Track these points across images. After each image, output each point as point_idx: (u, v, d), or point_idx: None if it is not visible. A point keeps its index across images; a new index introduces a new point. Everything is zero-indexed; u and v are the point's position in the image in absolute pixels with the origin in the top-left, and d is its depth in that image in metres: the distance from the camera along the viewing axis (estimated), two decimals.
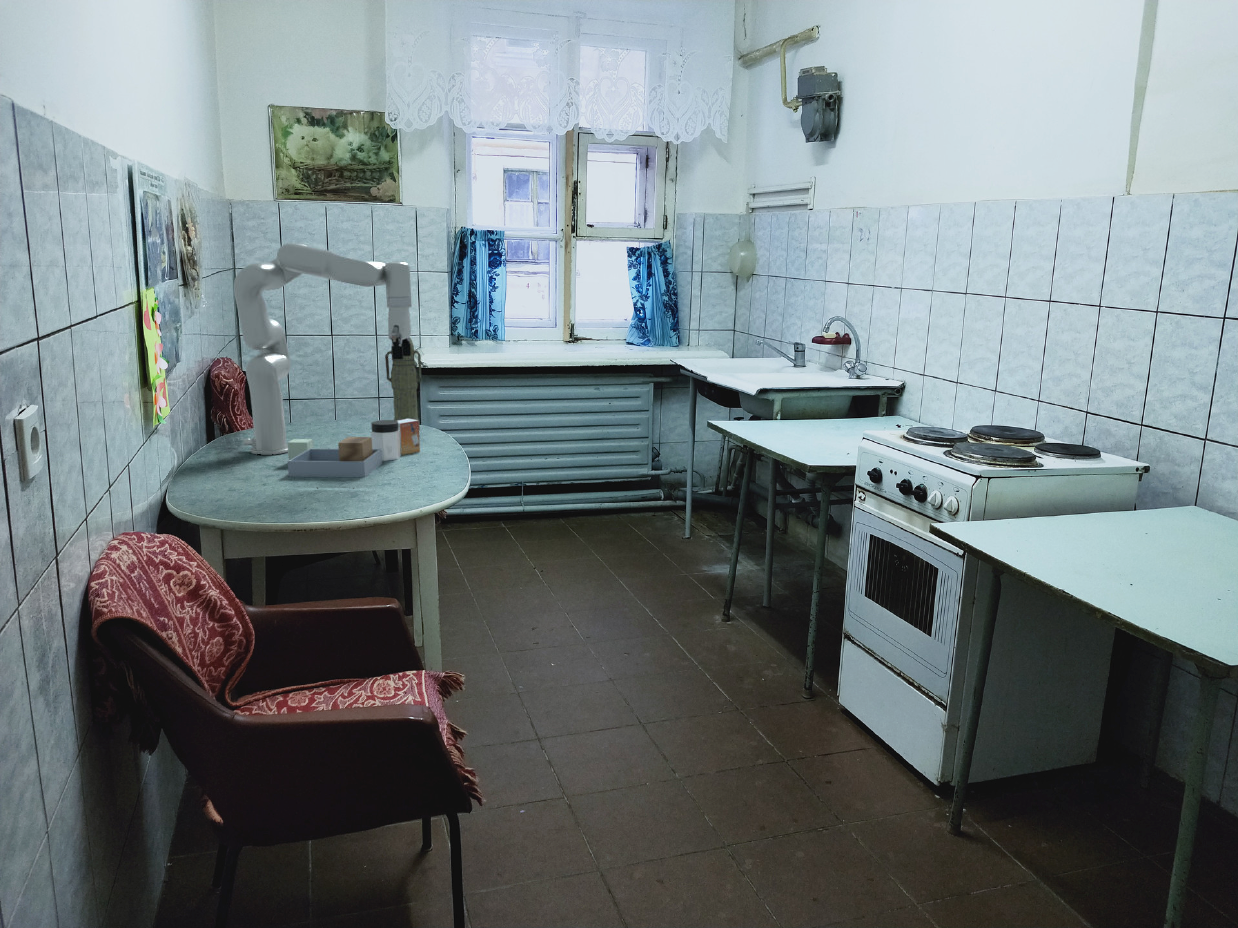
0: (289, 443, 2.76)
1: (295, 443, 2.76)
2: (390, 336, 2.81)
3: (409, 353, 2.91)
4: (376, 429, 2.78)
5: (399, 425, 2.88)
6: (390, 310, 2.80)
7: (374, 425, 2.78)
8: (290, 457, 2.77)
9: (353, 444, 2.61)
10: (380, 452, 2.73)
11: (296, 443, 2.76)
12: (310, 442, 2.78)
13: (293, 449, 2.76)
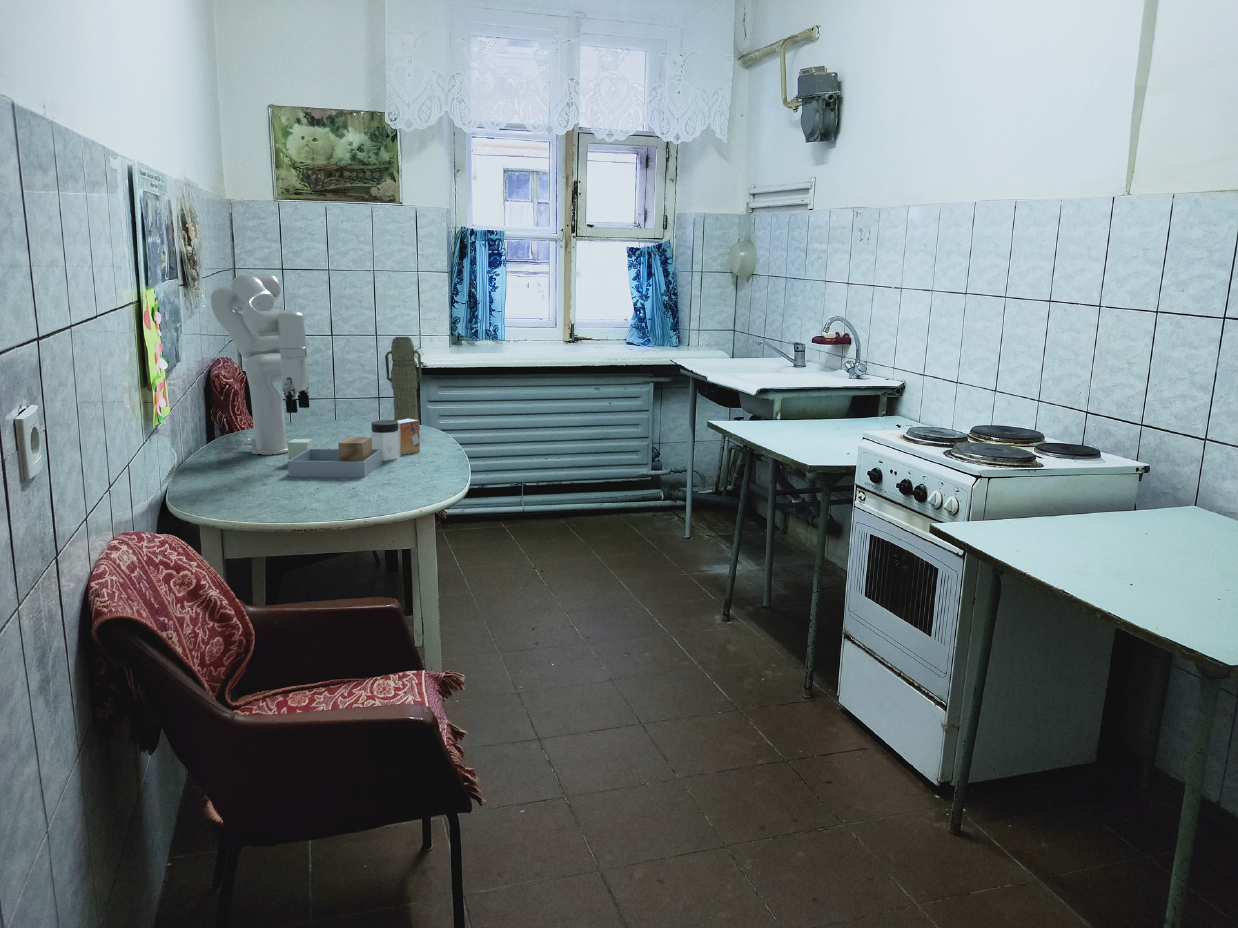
0: (289, 443, 2.76)
1: (295, 443, 2.76)
2: None
3: (307, 405, 2.80)
4: (376, 429, 2.78)
5: (399, 425, 2.88)
6: (283, 362, 2.68)
7: (374, 425, 2.78)
8: (290, 457, 2.77)
9: (353, 444, 2.61)
10: (380, 452, 2.73)
11: (296, 443, 2.76)
12: (310, 442, 2.78)
13: (293, 449, 2.76)
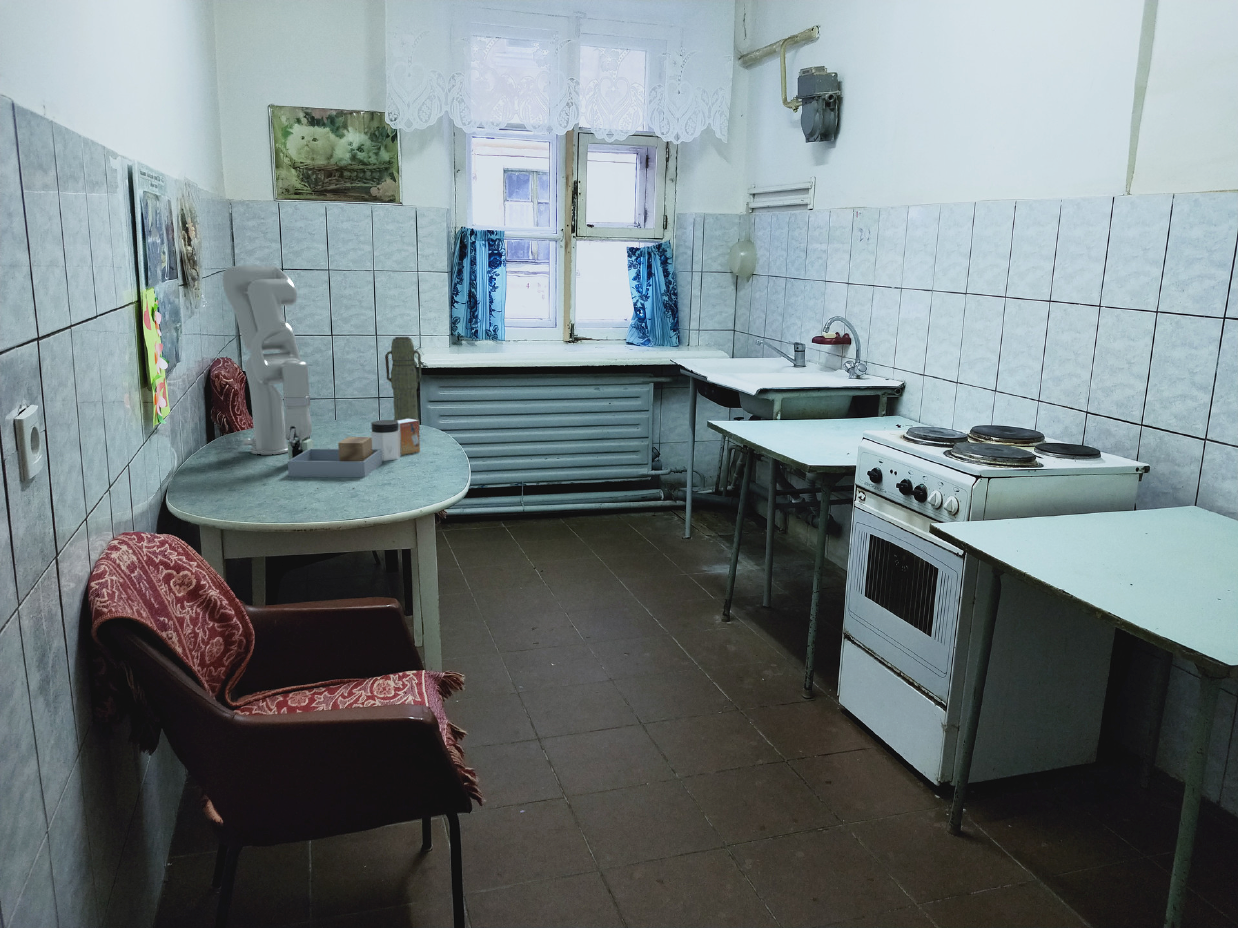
0: (289, 443, 2.76)
1: None
2: (287, 437, 2.73)
3: None
4: (376, 429, 2.78)
5: (399, 425, 2.88)
6: (286, 411, 2.72)
7: (374, 425, 2.78)
8: (290, 457, 2.77)
9: (353, 444, 2.61)
10: (380, 452, 2.73)
11: None
12: (310, 442, 2.78)
13: None
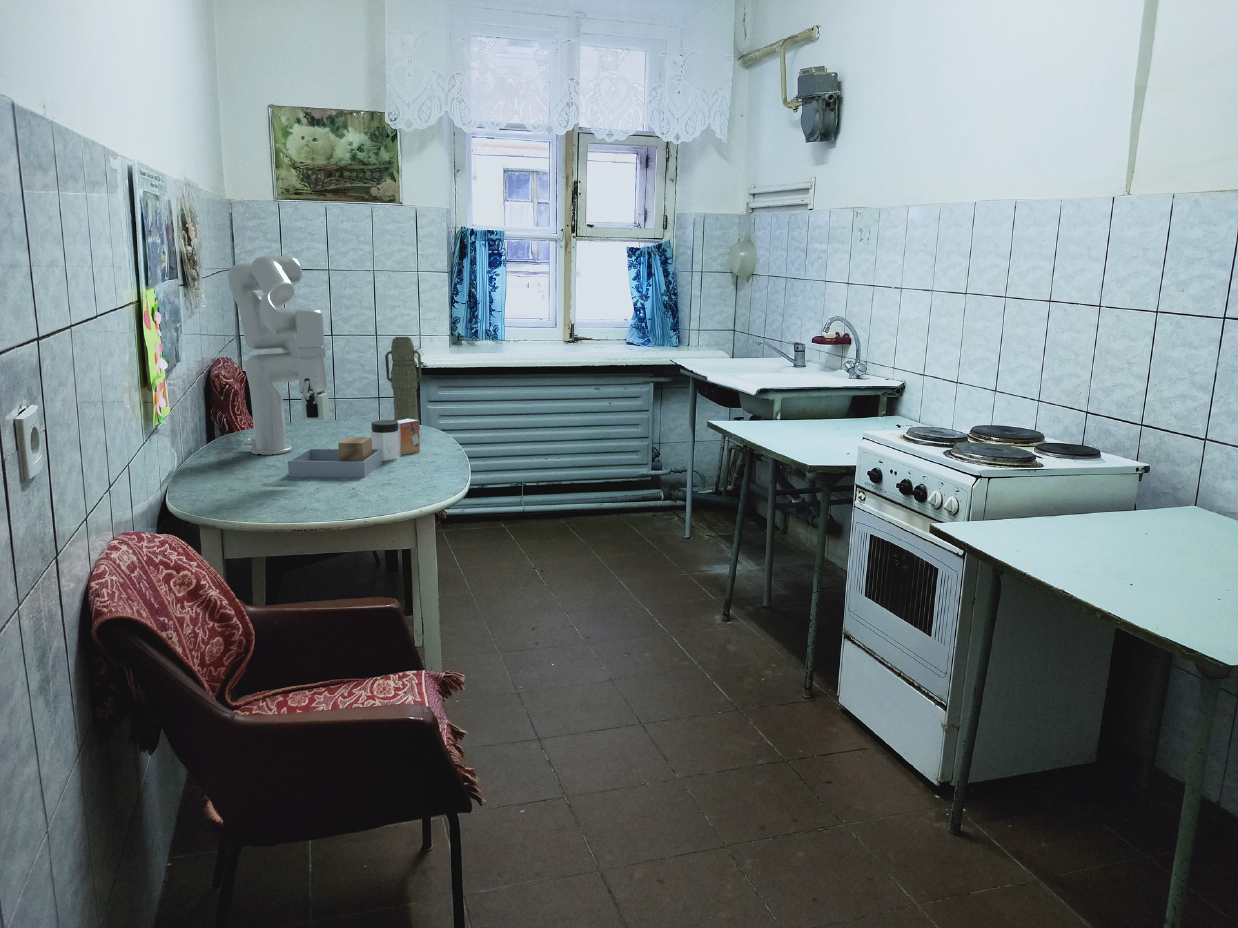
0: (303, 396, 2.60)
1: None
2: (301, 390, 2.57)
3: None
4: (376, 429, 2.78)
5: (399, 425, 2.88)
6: (300, 362, 2.56)
7: (374, 425, 2.78)
8: (304, 412, 2.61)
9: (353, 444, 2.61)
10: (380, 452, 2.73)
11: None
12: (325, 396, 2.63)
13: None
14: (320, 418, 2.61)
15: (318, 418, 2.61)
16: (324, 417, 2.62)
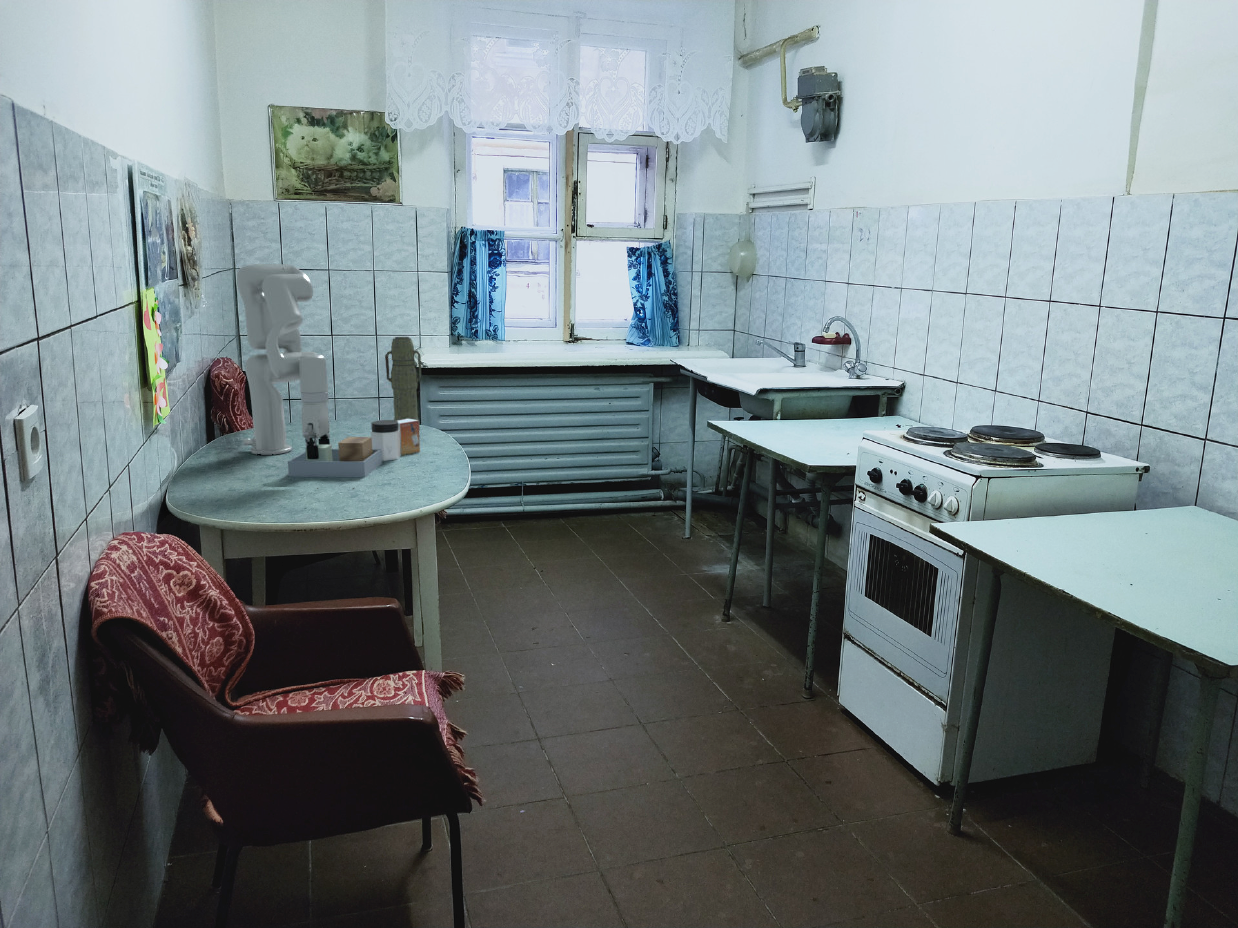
0: None
1: None
2: (304, 434, 2.60)
3: None
4: (376, 429, 2.78)
5: (399, 425, 2.88)
6: (304, 407, 2.59)
7: (374, 425, 2.78)
8: None
9: (353, 444, 2.61)
10: (380, 452, 2.73)
11: None
12: (329, 448, 2.66)
13: None
14: None
15: None
16: None
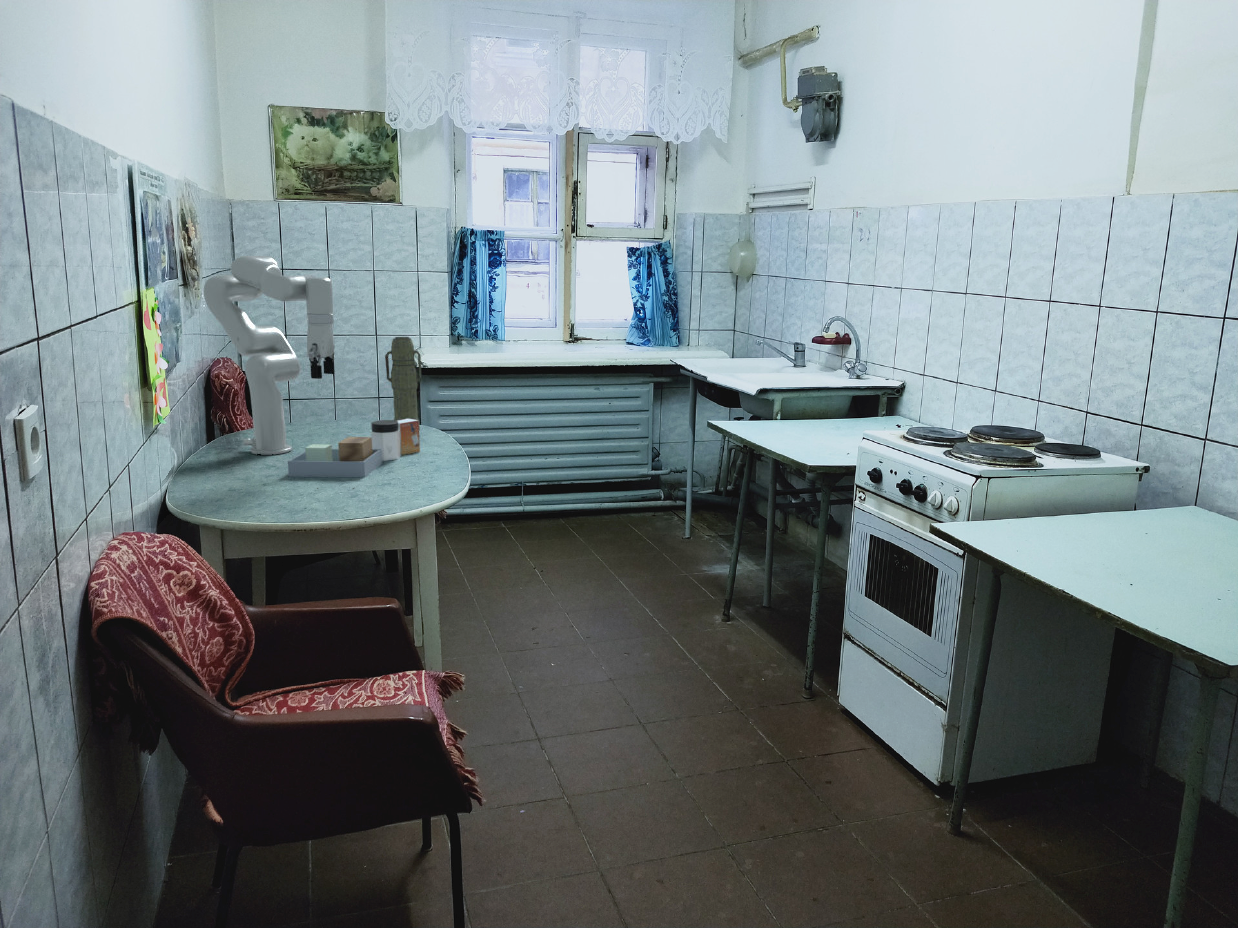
0: (307, 449, 2.64)
1: (313, 449, 2.64)
2: (309, 354, 2.69)
3: (332, 371, 2.80)
4: (376, 429, 2.78)
5: (399, 425, 2.88)
6: (309, 327, 2.68)
7: (374, 425, 2.78)
8: None
9: (353, 444, 2.61)
10: (380, 452, 2.73)
11: (314, 449, 2.64)
12: (329, 448, 2.66)
13: (311, 455, 2.64)
14: None
15: None
16: None
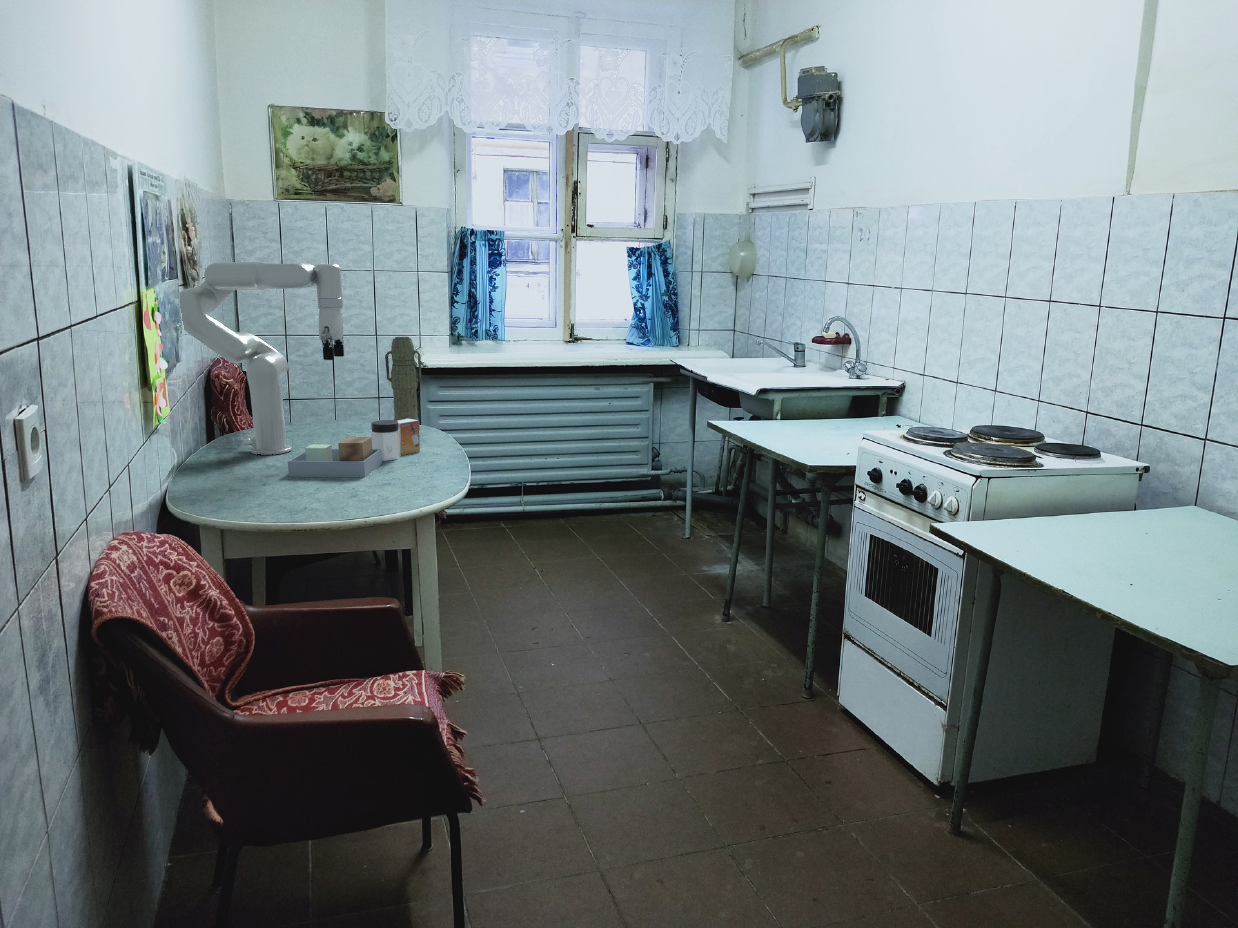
0: (307, 449, 2.64)
1: (313, 449, 2.64)
2: (321, 337, 2.84)
3: (342, 354, 2.94)
4: (376, 429, 2.78)
5: (399, 425, 2.88)
6: (320, 311, 2.83)
7: (374, 425, 2.78)
8: None
9: (353, 444, 2.61)
10: (380, 452, 2.73)
11: (314, 449, 2.64)
12: (329, 448, 2.66)
13: (311, 455, 2.64)
14: None
15: None
16: None
